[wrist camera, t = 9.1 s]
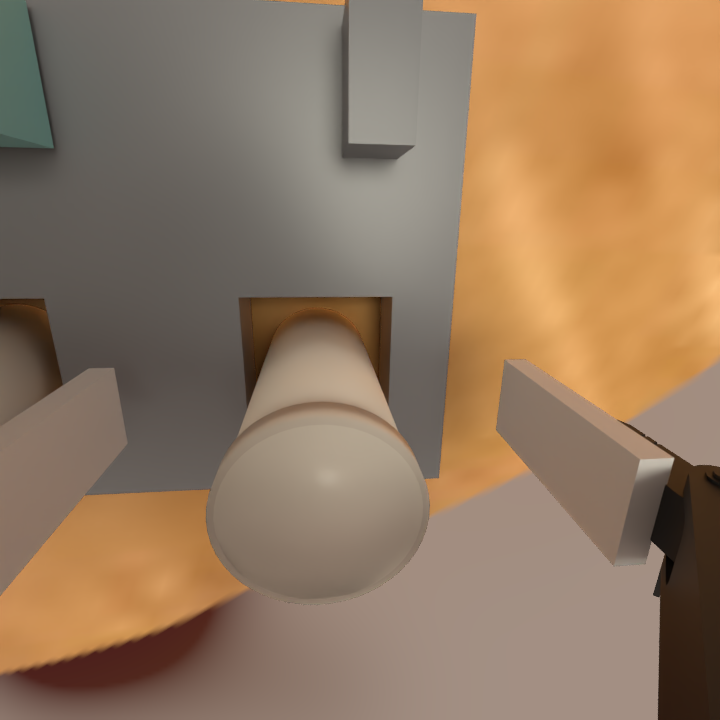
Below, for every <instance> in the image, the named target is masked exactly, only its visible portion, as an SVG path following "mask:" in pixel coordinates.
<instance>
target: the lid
mask: <svg viewBox="0 0 720 720" xmlns="http://www.w3.org/2000/svg"><path fill="white" fill-rule="evenodd" d="M0 147H20V148H54V146H53V140H52V135H51V130H50V125H49V120H48V114H47V109H46V104H45V99H44V93H43V88H42V83H41V78H40V72H39V67H38V62H37V57H36V52H35V46H34V41H33V36H32V31H31V25H30V20H29V15H28V10H27V4H26V1H25V0H0Z"/></svg>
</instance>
